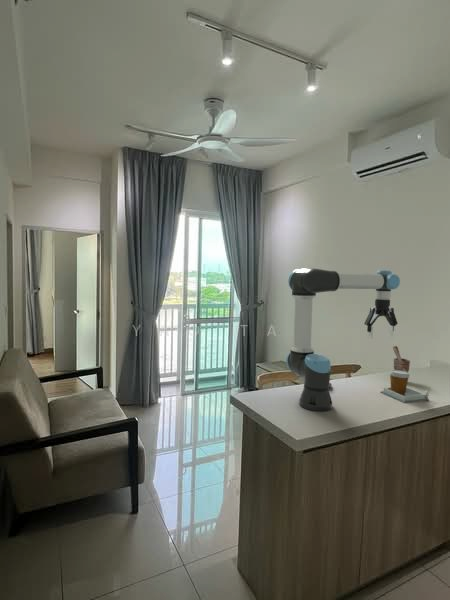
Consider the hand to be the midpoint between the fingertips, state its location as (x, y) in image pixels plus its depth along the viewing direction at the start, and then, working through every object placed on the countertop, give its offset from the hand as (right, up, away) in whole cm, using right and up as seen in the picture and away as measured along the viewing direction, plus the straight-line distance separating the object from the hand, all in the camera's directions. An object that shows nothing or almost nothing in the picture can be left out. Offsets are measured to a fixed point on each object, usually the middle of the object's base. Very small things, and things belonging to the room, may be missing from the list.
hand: (380, 337), depth 200 cm
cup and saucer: (-32, -28, +3) cm, 42 cm away
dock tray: (+8, -30, -10) cm, 32 cm away
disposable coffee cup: (+5, -29, -9) cm, 31 cm away
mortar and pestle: (+19, -28, +19) cm, 39 cm away
